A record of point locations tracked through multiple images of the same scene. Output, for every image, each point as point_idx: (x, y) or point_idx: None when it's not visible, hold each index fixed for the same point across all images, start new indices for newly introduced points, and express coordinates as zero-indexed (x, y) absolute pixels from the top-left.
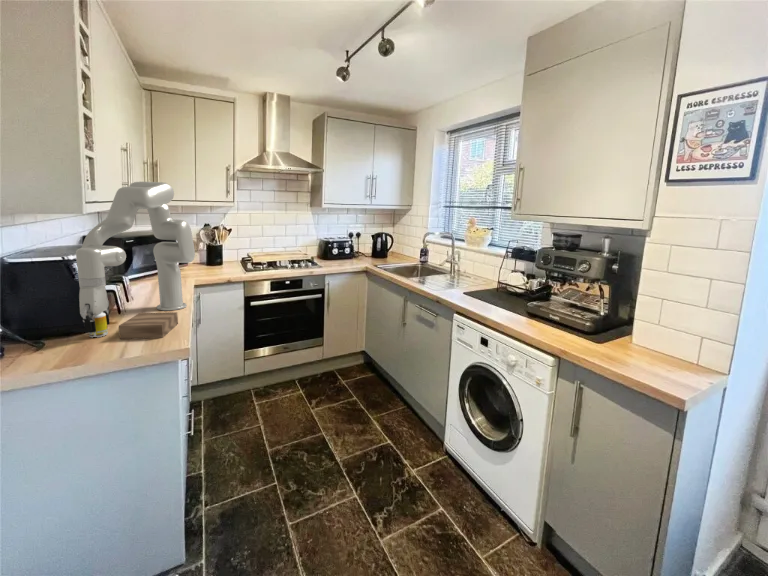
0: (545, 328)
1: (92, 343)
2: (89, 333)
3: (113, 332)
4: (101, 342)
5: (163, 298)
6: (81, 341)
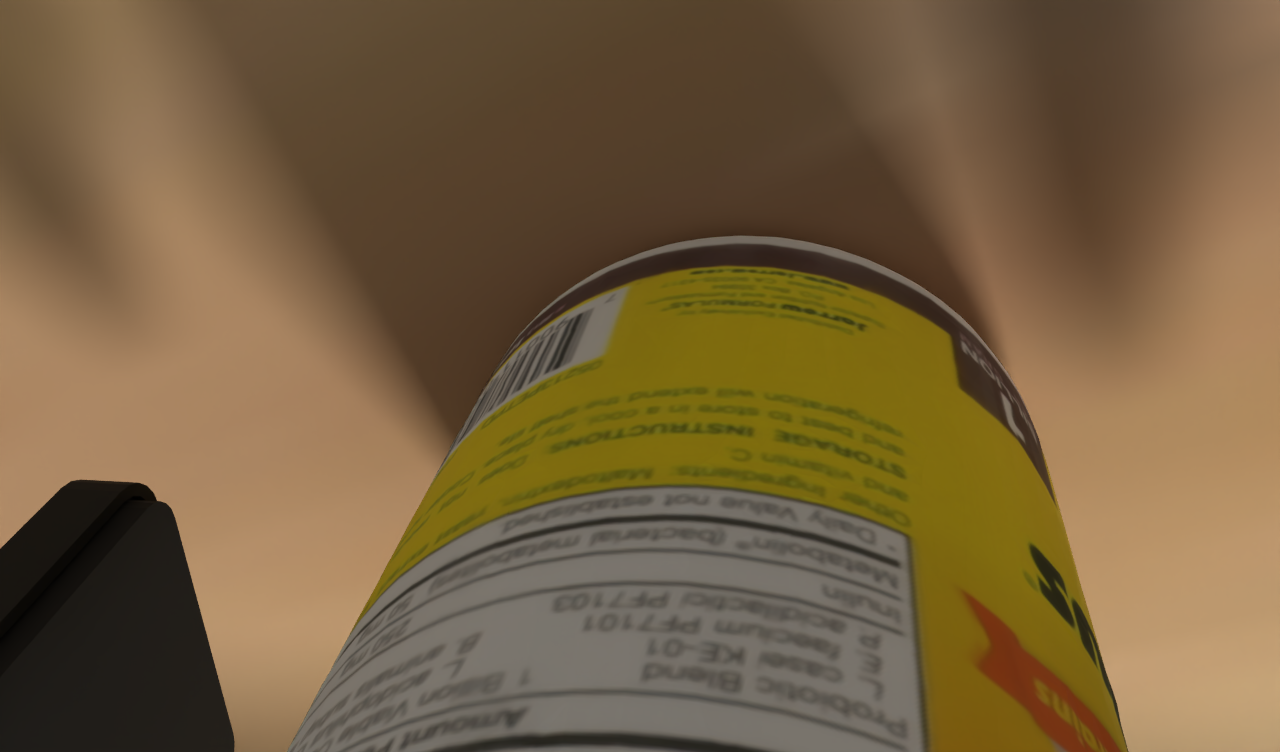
0: None
1: None
2: (499, 375)
3: None
4: None
5: None
6: (131, 221)
